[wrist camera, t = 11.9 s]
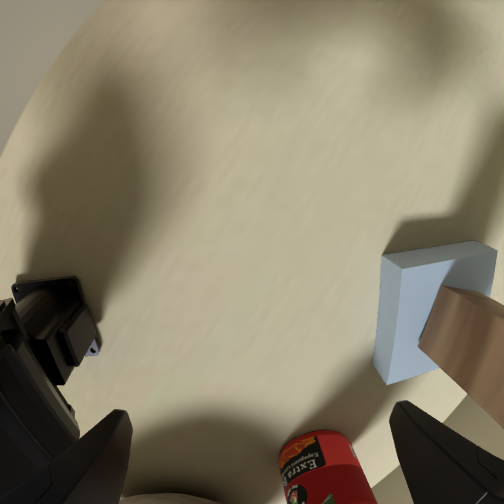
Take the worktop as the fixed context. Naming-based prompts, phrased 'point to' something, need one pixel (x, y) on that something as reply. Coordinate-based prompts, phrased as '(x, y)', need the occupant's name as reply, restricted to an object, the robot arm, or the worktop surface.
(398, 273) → the light blue square block
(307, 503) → the canned food
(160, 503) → the clay pot
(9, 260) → the worktop surface
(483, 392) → the light brown tall block
